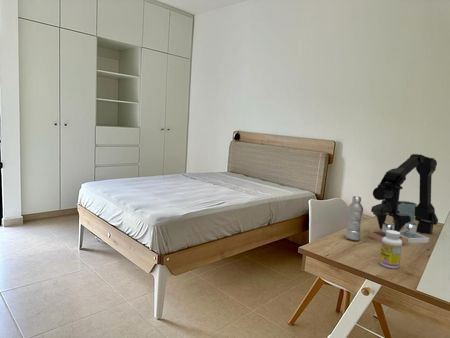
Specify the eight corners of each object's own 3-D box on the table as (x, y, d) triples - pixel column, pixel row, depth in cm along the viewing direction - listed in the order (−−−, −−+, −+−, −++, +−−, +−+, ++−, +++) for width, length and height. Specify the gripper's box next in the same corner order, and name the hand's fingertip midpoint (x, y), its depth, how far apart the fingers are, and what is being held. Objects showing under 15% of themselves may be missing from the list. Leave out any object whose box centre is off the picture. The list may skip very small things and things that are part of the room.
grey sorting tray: (409, 236, 155) (410, 230, 155) (430, 244, 143) (430, 238, 143) (367, 237, 150) (367, 231, 149) (385, 246, 138) (385, 239, 138)
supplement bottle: (375, 261, 119) (379, 228, 118) (392, 261, 120) (395, 229, 119) (386, 269, 113) (390, 234, 111) (403, 269, 113) (407, 235, 112)
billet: (409, 236, 151) (411, 222, 150) (417, 240, 146) (419, 225, 145) (400, 236, 150) (402, 222, 149) (408, 240, 145) (410, 225, 144)
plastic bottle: (359, 238, 147) (363, 196, 144) (360, 243, 140) (365, 199, 138) (344, 236, 149) (349, 195, 146) (345, 240, 142) (349, 197, 140)
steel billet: (387, 237, 148) (389, 222, 147) (395, 240, 143) (397, 225, 142) (378, 237, 147) (380, 222, 146) (386, 241, 142) (388, 226, 141)
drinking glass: (413, 226, 174) (416, 205, 173) (393, 222, 180) (395, 202, 178) (414, 222, 183) (417, 202, 181) (395, 219, 188) (397, 199, 187)
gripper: (363, 194, 150) (359, 226, 152) (391, 203, 132) (387, 239, 134) (383, 194, 153) (379, 225, 154) (413, 203, 135) (409, 238, 136)
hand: (387, 231), depth 145 cm, fingers open, 9 cm apart
